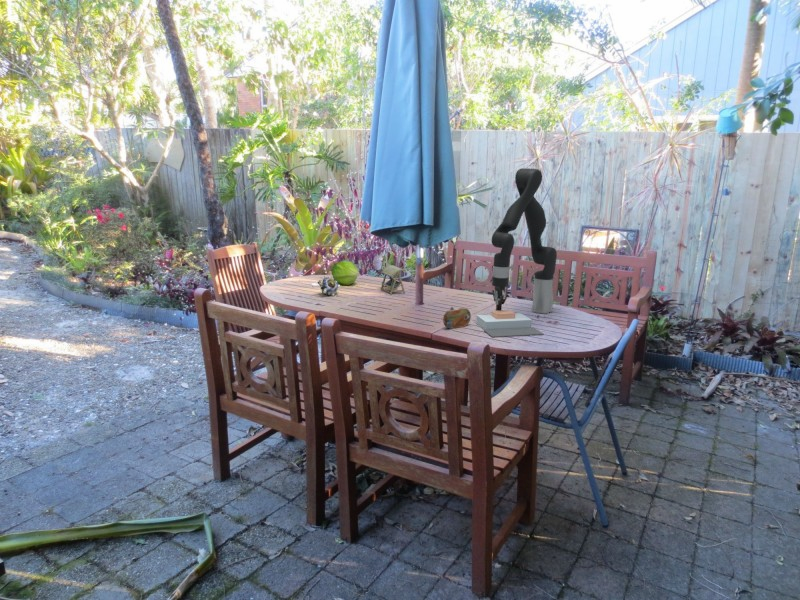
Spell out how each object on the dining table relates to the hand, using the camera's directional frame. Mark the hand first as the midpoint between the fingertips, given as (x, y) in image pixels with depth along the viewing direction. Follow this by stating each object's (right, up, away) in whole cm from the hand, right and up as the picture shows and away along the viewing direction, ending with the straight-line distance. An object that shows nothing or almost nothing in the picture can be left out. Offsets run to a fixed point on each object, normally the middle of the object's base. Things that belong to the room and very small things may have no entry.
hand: (498, 312), depth 254 cm
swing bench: (-51, +10, +63) cm, 82 cm away
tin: (-21, -7, -7) cm, 23 cm away
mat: (+4, -9, -15) cm, 18 cm away
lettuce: (-80, +15, +83) cm, 116 cm away
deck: (+1, -6, -4) cm, 8 cm away
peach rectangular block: (+1, -2, -5) cm, 6 cm away
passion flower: (-87, +9, +53) cm, 103 cm away
